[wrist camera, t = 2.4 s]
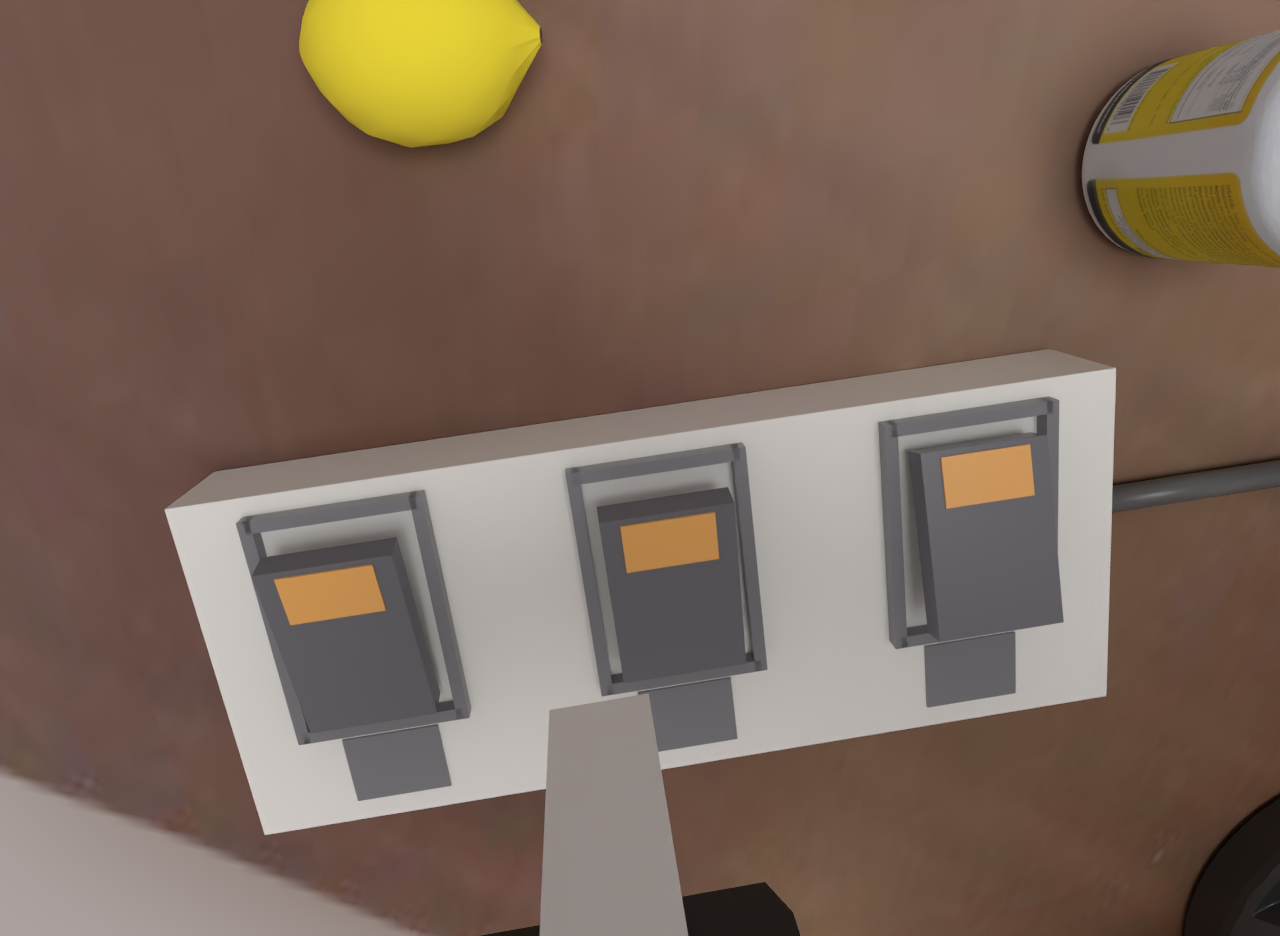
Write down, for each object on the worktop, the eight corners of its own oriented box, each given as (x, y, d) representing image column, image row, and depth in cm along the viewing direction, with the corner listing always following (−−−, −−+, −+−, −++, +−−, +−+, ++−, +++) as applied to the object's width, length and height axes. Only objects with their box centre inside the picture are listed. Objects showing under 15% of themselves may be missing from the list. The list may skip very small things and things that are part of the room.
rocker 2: (1047, 613, 29) (1064, 623, 28) (928, 632, 28) (941, 642, 27) (1031, 431, 28) (1048, 434, 27) (908, 450, 28) (921, 454, 27)
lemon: (348, 157, 28) (272, 146, 23) (324, -29, 27) (237, -85, 22) (561, 147, 28) (532, 134, 23) (549, -42, 27) (516, -103, 21)
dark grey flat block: (739, 644, 29) (746, 665, 28) (621, 663, 29) (624, 685, 28) (727, 486, 26) (734, 503, 25) (596, 507, 26) (598, 524, 25)
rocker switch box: (1296, 602, 36) (1399, 658, 31) (298, 764, 34) (258, 847, 30) (1325, 308, 32) (1446, 323, 28) (214, 471, 30) (155, 515, 26)
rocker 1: (440, 692, 29) (436, 714, 28) (318, 711, 29) (310, 735, 28) (396, 537, 26) (391, 556, 25) (261, 557, 26) (250, 578, 25)
